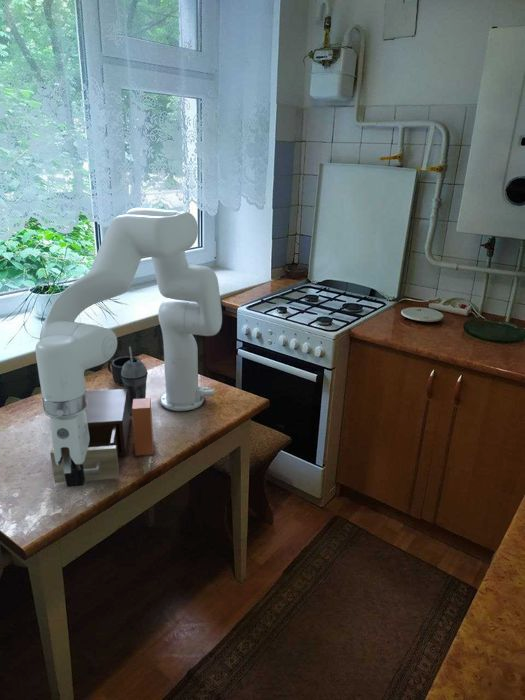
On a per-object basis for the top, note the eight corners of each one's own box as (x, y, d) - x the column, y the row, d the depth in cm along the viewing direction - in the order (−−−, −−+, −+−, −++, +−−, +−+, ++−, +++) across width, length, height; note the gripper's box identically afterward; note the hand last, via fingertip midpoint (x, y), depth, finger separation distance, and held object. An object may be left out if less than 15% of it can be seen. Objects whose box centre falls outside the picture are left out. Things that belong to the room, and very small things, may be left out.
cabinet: (125, 455, 121) (122, 420, 117) (61, 460, 118) (56, 424, 114) (129, 420, 136) (127, 388, 132) (73, 424, 133) (69, 391, 130)
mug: (148, 379, 160) (146, 359, 157) (130, 390, 152) (128, 369, 150) (118, 372, 165) (116, 352, 162) (99, 382, 157) (97, 362, 154)
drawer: (117, 491, 107) (114, 460, 104) (50, 496, 104) (45, 465, 101) (124, 440, 125) (121, 413, 122) (67, 444, 123) (63, 416, 120)
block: (153, 443, 126) (150, 397, 121) (153, 454, 121) (150, 407, 117) (136, 444, 125) (133, 398, 120) (135, 455, 121) (131, 408, 116)
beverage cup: (154, 407, 143) (151, 342, 136) (141, 418, 137) (136, 352, 129) (132, 402, 146) (128, 339, 138) (118, 413, 139) (112, 348, 132)
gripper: (80, 420, 85) (90, 507, 92) (92, 383, 99) (100, 460, 105) (33, 423, 84) (47, 511, 90) (52, 385, 97) (63, 463, 104)
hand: (75, 483), depth 98 cm, fingers closed
